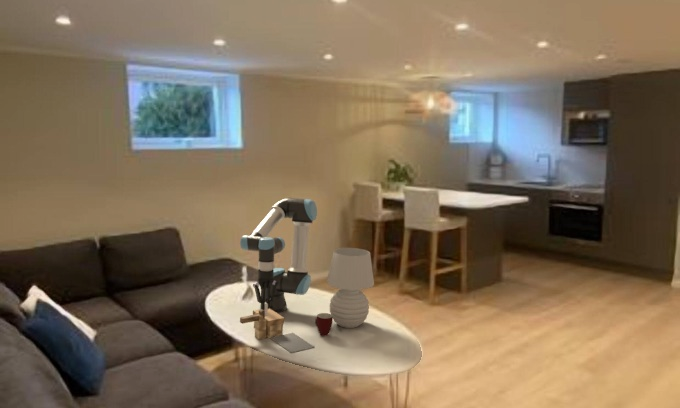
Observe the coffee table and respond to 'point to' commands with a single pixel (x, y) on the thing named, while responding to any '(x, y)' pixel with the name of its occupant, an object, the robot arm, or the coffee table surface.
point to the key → (252, 317)
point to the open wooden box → (266, 329)
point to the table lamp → (350, 286)
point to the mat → (292, 342)
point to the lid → (272, 318)
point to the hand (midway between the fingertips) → (264, 315)
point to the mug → (324, 323)
